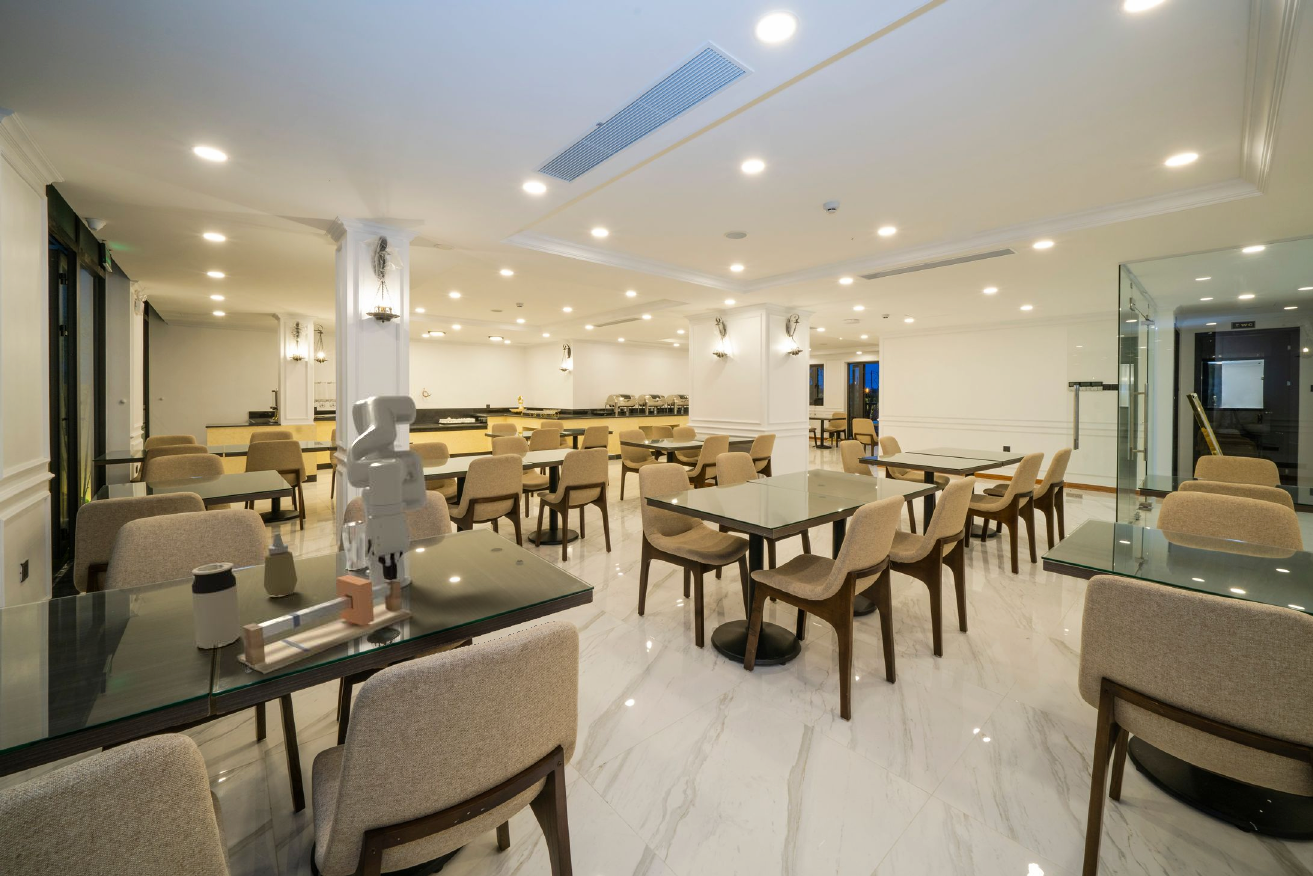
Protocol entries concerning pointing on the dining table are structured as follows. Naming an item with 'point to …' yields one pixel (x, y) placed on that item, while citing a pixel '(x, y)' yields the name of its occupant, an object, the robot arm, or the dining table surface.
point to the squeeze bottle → (279, 569)
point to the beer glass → (354, 544)
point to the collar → (356, 599)
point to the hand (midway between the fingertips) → (390, 578)
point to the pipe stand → (318, 629)
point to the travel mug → (215, 604)
